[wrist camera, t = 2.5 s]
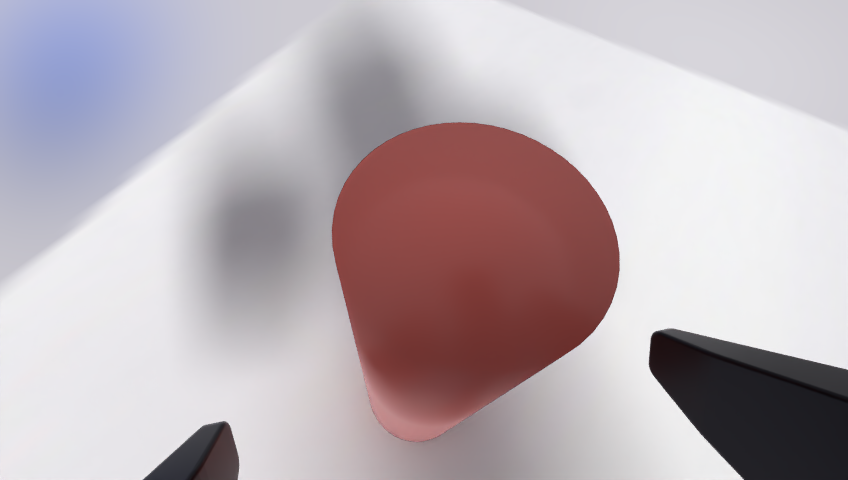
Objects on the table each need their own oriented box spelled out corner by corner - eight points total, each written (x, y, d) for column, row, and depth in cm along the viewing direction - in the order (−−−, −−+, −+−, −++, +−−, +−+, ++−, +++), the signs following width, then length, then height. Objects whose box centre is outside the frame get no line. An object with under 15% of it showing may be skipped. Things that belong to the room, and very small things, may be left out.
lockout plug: (475, 429, 16) (674, 337, 5) (377, 452, 16) (352, 407, 4) (451, 333, 18) (556, 112, 7) (362, 351, 17) (319, 135, 6)
